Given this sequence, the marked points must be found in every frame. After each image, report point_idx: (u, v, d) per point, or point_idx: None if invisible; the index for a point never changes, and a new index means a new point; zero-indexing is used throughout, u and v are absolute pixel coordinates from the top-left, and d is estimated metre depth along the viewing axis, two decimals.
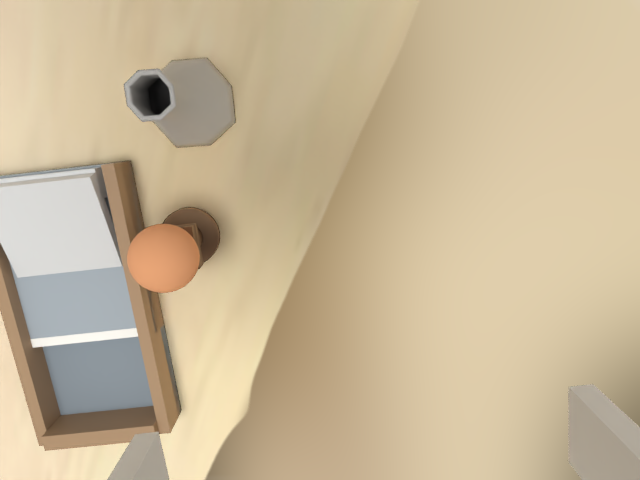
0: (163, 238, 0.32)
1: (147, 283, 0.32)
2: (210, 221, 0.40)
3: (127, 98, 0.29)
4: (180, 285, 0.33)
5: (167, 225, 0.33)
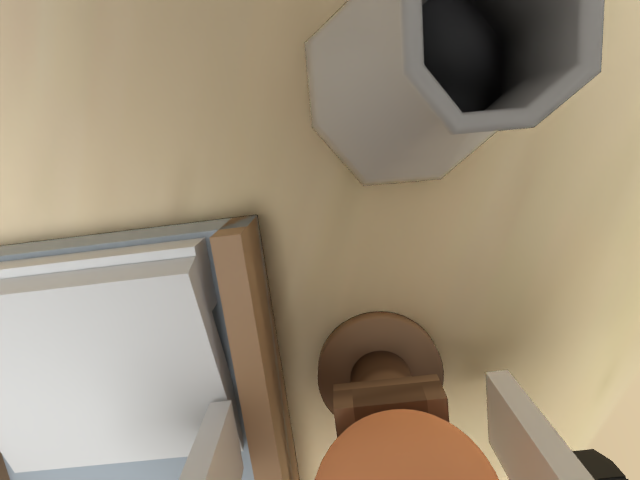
0: None
1: None
2: (430, 345, 0.18)
3: (410, 43, 0.07)
4: None
5: (428, 431, 0.11)
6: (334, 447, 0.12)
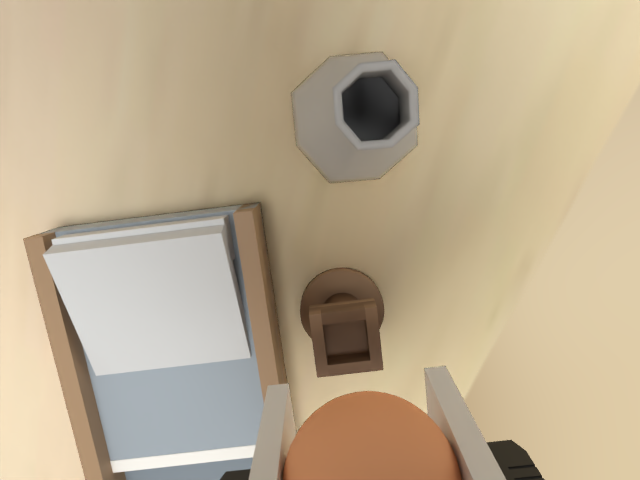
0: (388, 465, 0.11)
1: None
2: (374, 288, 0.28)
3: (336, 111, 0.17)
4: None
5: (386, 409, 0.12)
6: (307, 419, 0.14)
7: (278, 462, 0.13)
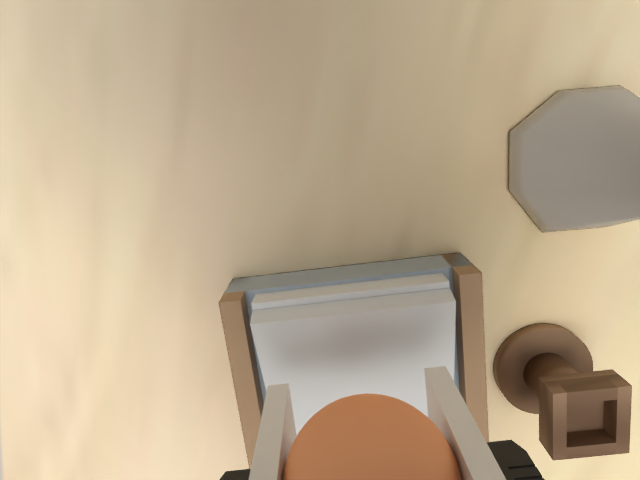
0: (388, 468, 0.11)
1: None
2: (584, 348, 0.25)
3: None
4: None
5: (386, 411, 0.12)
6: (307, 422, 0.14)
7: (278, 462, 0.13)
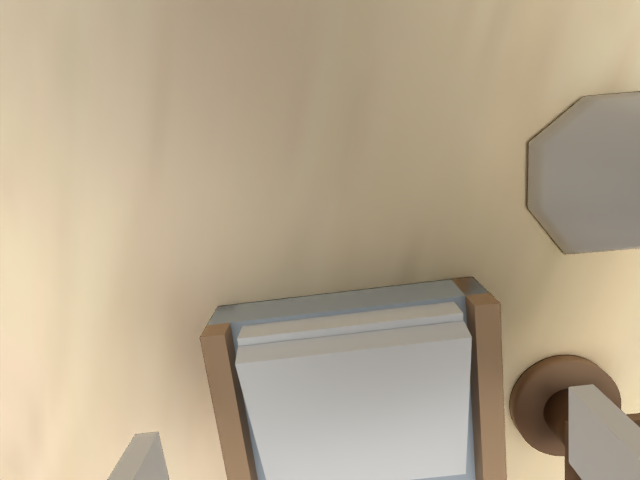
0: None
1: None
2: (612, 383, 0.22)
3: None
4: None
5: None
6: None
7: None
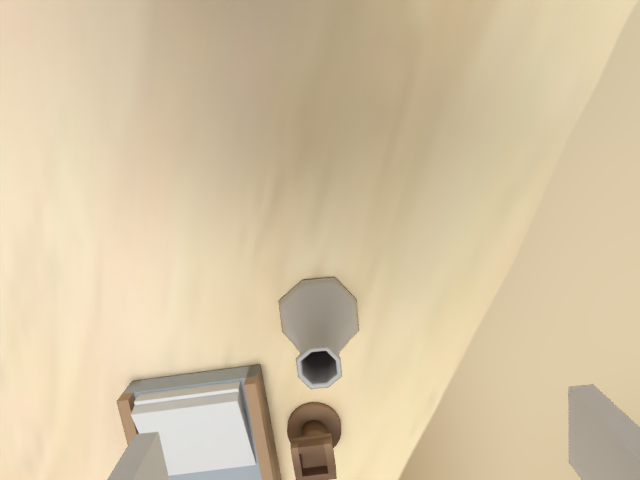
0: None
1: None
2: (334, 417, 0.43)
3: (298, 371, 0.32)
4: None
5: None
6: None
7: None
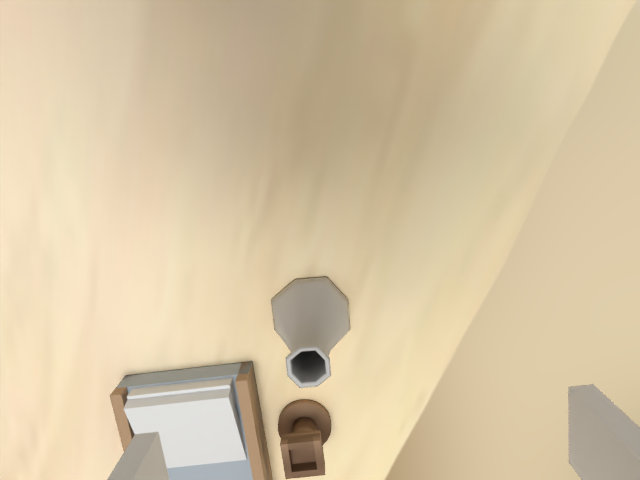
0: None
1: None
2: (324, 414, 0.44)
3: (288, 370, 0.33)
4: None
5: None
6: None
7: None
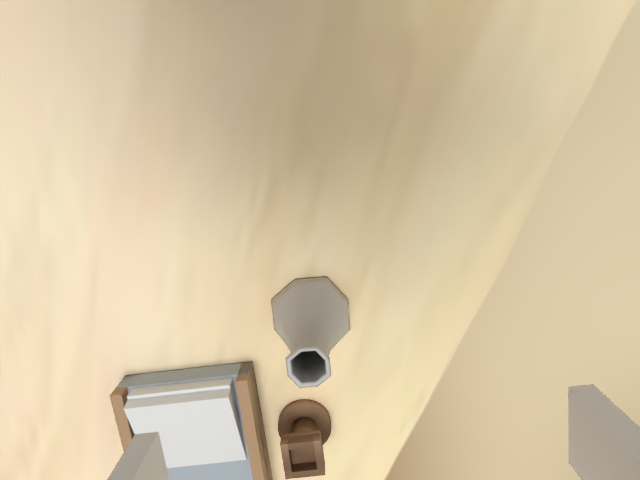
0: None
1: None
2: (324, 414, 0.44)
3: (288, 370, 0.33)
4: None
5: None
6: None
7: None
